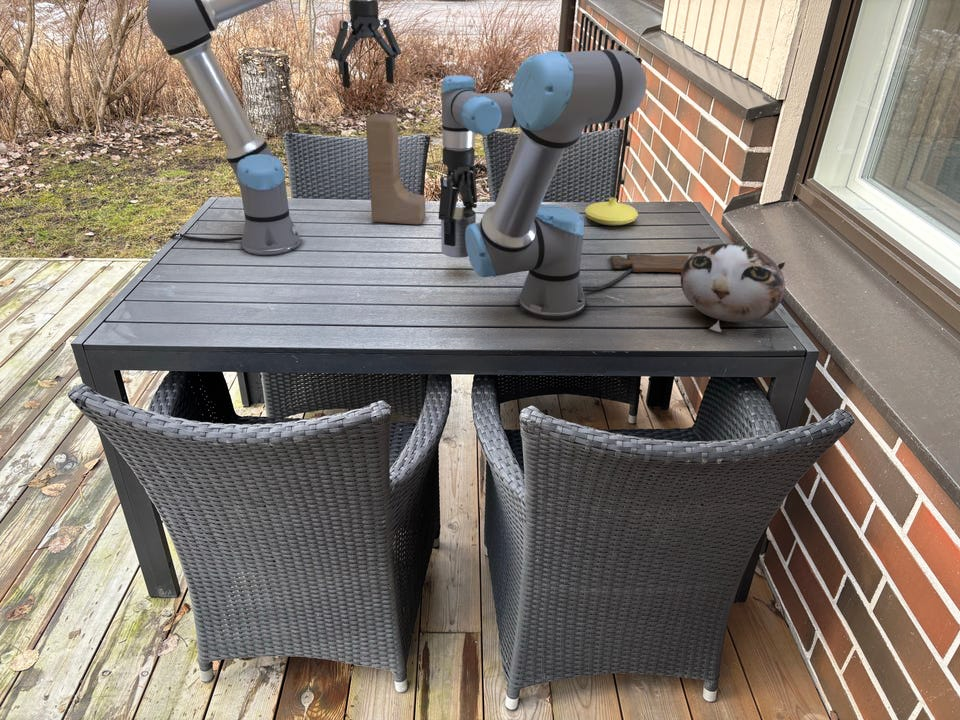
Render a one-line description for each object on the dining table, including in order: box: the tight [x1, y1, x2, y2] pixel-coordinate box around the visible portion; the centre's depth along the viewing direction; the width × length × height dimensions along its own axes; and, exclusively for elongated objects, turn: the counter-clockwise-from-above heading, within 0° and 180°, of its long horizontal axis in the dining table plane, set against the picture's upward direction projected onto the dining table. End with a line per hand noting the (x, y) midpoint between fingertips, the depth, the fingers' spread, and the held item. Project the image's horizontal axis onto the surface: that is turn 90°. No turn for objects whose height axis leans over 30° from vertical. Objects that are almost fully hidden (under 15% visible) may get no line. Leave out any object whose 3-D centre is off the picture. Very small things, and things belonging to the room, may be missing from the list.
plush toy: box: [680, 243, 786, 333], centre depth 158 cm, size 22×18×20 cm
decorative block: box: [365, 113, 426, 226], centre depth 208 cm, size 8×15×30 cm, turn 82°
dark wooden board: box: [609, 253, 690, 274], centre depth 188 cm, size 26×2×10 cm
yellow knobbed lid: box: [584, 197, 639, 227], centre depth 215 cm, size 16×16×7 cm
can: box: [440, 206, 477, 259], centre depth 177 cm, size 8×8×10 cm
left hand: (368, 85), depth 198 cm, fingers open, 13 cm apart
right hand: (458, 238), depth 178 cm, fingers closed on can, 8 cm apart
